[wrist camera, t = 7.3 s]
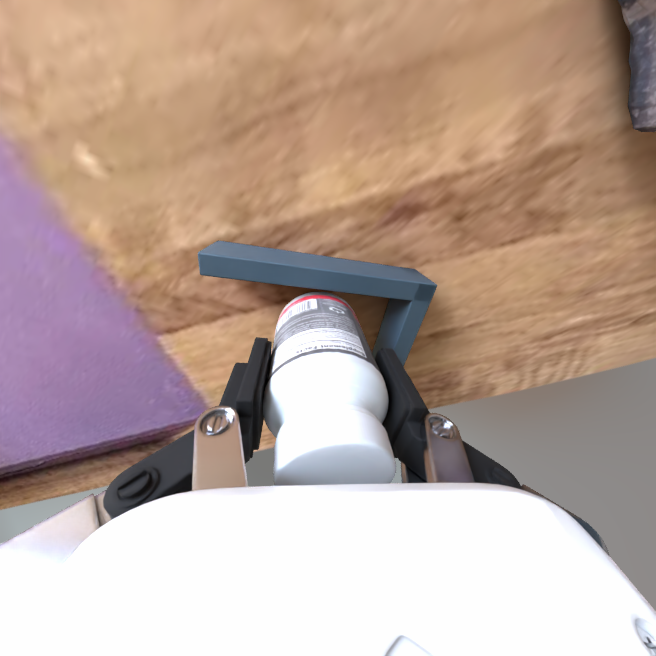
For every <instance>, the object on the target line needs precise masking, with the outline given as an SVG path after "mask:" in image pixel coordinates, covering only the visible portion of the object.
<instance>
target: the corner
mask: <svg viewBox="0 0 656 656" xmlns="http://www.w3.org/2000/svg"><path fill="white" fill-rule="evenodd" d="M198 260H199V268H200V274H201V275H205V276H213V277H221V278H229V279H237V280H246V281H254V282H262V283H270V284H278V285H287V286H295V287H303V288H311V289H319V290H327V291H336V292H344V293H352V294H360V295H368V296H376V297H385V298H390V299H389V302H388V305H387V308H386V311H385V315H384V318H383V321H382V324H381V327H380V330H379V333H378V336H377V339H376V343H375V346H374V349H373V352H372V354H373V357H374V359H375V357H376V354H377V351H378V350H381V348H390V349H393V350H394V351H395V353H396V355H397V357H398V358H399V360H400V362H401V364H402V365H403V366H404V364H405V361H406V359H407V357H408V354H409V352H410V349H411V347H412V345H413V342H414V340H415V338H416V335H417V333H418V330H419V328H420V326H421V323H422V321H423V318H424V316H425V314H426V311H427V309H428V307H429V304H430V302H431V299H432V297H433V295H434V292H435V290H436V288H437V285H436V284H435V283H434V282H432V281H431V280H429V279H428V278H427V277H425V276H424V275H422V274H421V273H419V272H418V271H417V270H415V269H410V268H403V267H395V266H388V265H381V264H374V263H368V262H361V261H354V260H347V259H340V258H333V257H327V256H320V255H313V254H306V253H299V252H292V251H286V250H279V249H272V248H265V247H258V246H252V245H245V244H238V243H231V242H224V241H217V242H215V243H213V244H212V245H210V246H208V247H206V248H205V249H203V250H201V251H200V252H198Z"/></svg>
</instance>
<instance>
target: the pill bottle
mask: <svg viewBox="0 0 656 656" xmlns="http://www.w3.org/2000/svg"><path fill="white" fill-rule="evenodd" d="M388 403H389V399H388V392H387V388H386V385H385V381H384V379H383V376H382V374H381V372H380V370H379V368H378V366H377V364H376V361H375V359H374V357H373V354H372V352H371V350H370V347H369V345H368V343H367V340H366V338H365V336H364V333H363V331H362V329H361V326H360V324H359V321H358V319H357V317H356V315H355V313H354V311H353V309H352V308H351V306H350V305H349V304H348V303H347V302H346V301H345V300H343V299H342V298H340V297H338V296H336V295H334V294H331V293H328V292H310V293H305V294H303V295H300V296H298V297H296V298H295V299H293V300H292V301H291V302H289V303H288V304H287V305H286V307H285V308H284V309H283V311H282V312H281V314H280V317H279V319H278V323H277V327H276V333H275V339H274V344H273V350H272V355H271V359H270V364H269V369H268V374H267V380H266V386H265V391H264V397H263V416H264V420H265V422H266V425H267V426H268V428H269V430H270V431H271V432H272V434H273V435H274V436H275V437H276V438H277V439H276V443H275V447H274V454H275V460H274V474H273V482H274V486H295V485H337V484H389V483H390V482H391V481H392V480H393V478H394V476H395V473H396V462H395V458H394V455H393V451H392V448H391V445H390V442H389V438H388V434H387V432H386V430H385V428H384V427H383V425H382V423H383V421H384V419H385V417H386V414H387V411H388Z"/></svg>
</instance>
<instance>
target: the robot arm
mask: <svg viewBox="0 0 656 656" xmlns="http://www.w3.org/2000/svg"><path fill="white" fill-rule="evenodd" d="M271 344H272V342H270V341H268V339H267V338H256V339H255V342H254V345H253V348H252V351H251V355H250V358H249V361H248V363H236V364H235V366H234V368H233V371H232V373H231V376H230V379H229V381H228V384H227V386H226V389H225V392H224V394H223V397H222V399H221V402H220V404H219V406H215V407H212V408H210V409H208V410H206V411H204V412H203V413H202V414H201V415H200V416H199V417H198V419H197V420H196V423H195V429H194V430H193V431H191V432H189V433H188V434H186V435H184V436H183V437H181V438H179V439H177V440H176V441H174V442H172V443H171V444H169V445H167V446H166V447H164V448H162V449H160V450H159V451H157V452H155V453H154V454H152V455H150V456H148V457H147V458H145V459H143V460H142V461H140V462H138V463H137V464H135V465H133V466H131V467H130V468H128V469H127V470H125V471H124V472H122V473H121V474H120V475H118V476H117V477H116V478H115V479H114V480H113V481H112V482H111V484H110V485H109V487H108V488H107V490H105V491H103V492H102V493H100V494H98V495H96V496H94V494H91V495H89V496H87V497H86V498H84V499H82V500H80V501H78V502H76V503H75V504H73V505H71V506H69V507H67V508H66V509H64V510H62V511H60V512H58V513H57V514H55V515H53V516H51V517H49V518H47V519H46V520H44V521H42V522H40V523H38V524H37V525H35V526H33V527H31V528H29V529H28V530H26V531H24V532H22V533H20V534H18V535H17V536H15V537H13V538H11V539H9V540H8V541H6V542H4V543H2V544H0V656H656V611H655V610H654V609H653V608H652V606H651V605H650V604H649V603H648V602H647V601H646V599H645V598H644V597H643V596H642V595H641V593H640V592H639V591H638V590H637V589H636V587H635V586H634V585H633V584H632V583H631V581H630V580H629V579H628V578H627V577H626V575H625V574H624V573H623V572H622V571H621V569H620V568H619V567H618V566H617V565H616V564H615V563H614V561H613V560H612V559H611V558H610V556H609V553H608V550H607V547H606V545H605V543H604V541H603V540H602V538H601V537H600V536H599V534H598V533H597V532H596V531H595V530H594V529H593V528H592V527H591V526H590V525H589V524H588V523H586V522H585V521H583V520H582V519H581V518H579V517H577V516H576V515H574V514H573V513H571V512H569V511H568V510H565V509H564V508H562V507H560V506H559V505H557V504H556V503H554V502H553V501H551V500H549V499H548V498H546V497H544V496H543V495H541V494H539V493H538V492H536V491H534V490H533V489H531V488H529V487H527V486H526V485H522V486H520V484H519V482H518V481H517V479H516V478H515V477H514V476H513V475H512V474H511V473H510V472H509V471H508V470H507V469H506V468H504V467H503V466H501V465H500V464H498V463H497V462H495V461H494V460H492V459H490V458H489V457H487V456H486V455H484V454H483V453H481V452H480V451H478V450H476V449H475V448H473V447H472V446H470V445H469V444H467V443H465V442H464V441H462V439H461V436H460V433H459V431H458V428H457V427H456V425H455V424H454V423H453V422H452V421H451V420H450V419H448V418H447V417H445V416H443V415H440V414H437V413H430V412H429V411H428V409H427V407H426V405H425V404H424V402H423V400H422V398H421V397H420V395H419V393H418V391H417V390H416V388H415V386H414V384H413V383H412V381H411V379H410V377H409V376H408V374H407V373H406V371H405V369H404V367H403V365H402V364H401V362H400V360H399V358H398V357H397V355H396V353H395V351H394V350H393V349H390V348H381V350H378V351H377V354H376V357H375V361H376V364H377V366H378V368H379V370H380V372H381V374H382V376H383V379H384V381H385V385H386V388H387V392H388V399H389V403H388V411H387V414H386V417H385V419H384V421H383V423H382V425H383V427H384V428H385V430H386V432H387V434H388V438H389V442H390V445H391V448H392V451H393V455H394V458H398V459H399V460H400V461H401V477H402V483H389V484H337V485H295V486H259V487H248V483H247V475H246V468H245V463H246V462H248V461H249V459H250V458H252V456H253V450H258V449H259V444H260V438H261V432H262V426H263V420H264V416H263V397H264V391H265V386H266V380H267V374H268V369H269V364H270V359H271Z"/></svg>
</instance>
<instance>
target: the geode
mask: <svg viewBox="0 0 656 656" xmlns="http://www.w3.org/2000/svg"><path fill="white" fill-rule="evenodd" d="M618 2H619V4H620V5H621V8H622V13H623V18H624V22H625V23H626V25H627V27H628V29H629V31H630V44H631V45H630V53H629V61H628V62H629V65H630V68H631V79H630V89H629V100H628V108H629V112H630V116H631V120H632V124H633V129H635V130H638V131H641V132H655V131H656V0H618Z"/></svg>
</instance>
